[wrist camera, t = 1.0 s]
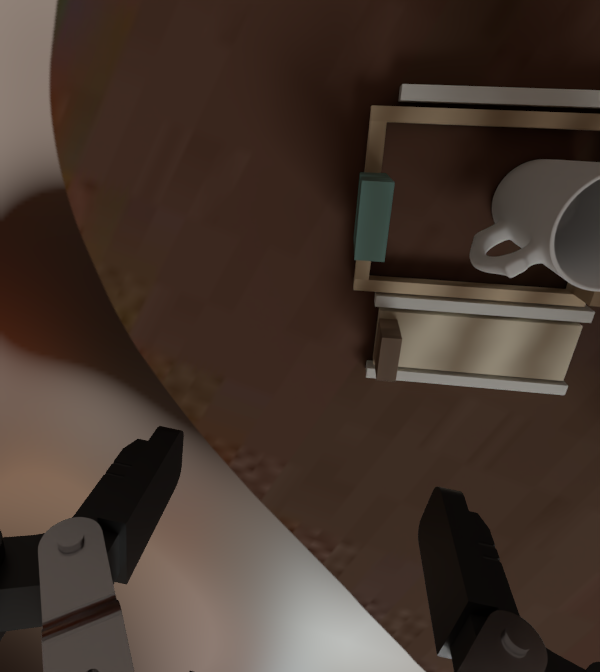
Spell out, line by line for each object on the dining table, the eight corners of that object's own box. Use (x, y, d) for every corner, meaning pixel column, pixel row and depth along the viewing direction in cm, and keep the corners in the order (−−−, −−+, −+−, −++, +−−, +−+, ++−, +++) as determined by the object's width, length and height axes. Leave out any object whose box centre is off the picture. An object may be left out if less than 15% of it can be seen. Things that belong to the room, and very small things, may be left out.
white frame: (639, 116, 30) (736, 110, 23) (576, 301, 36) (636, 344, 29) (365, 106, 32) (369, 96, 24) (348, 284, 38) (348, 321, 30)
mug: (565, 137, 31) (677, 137, 21) (589, 219, 34) (702, 258, 23) (435, 203, 34) (473, 234, 24) (464, 275, 37) (512, 333, 26)
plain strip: (575, 320, 37) (608, 347, 32) (557, 374, 39) (585, 406, 34) (379, 306, 38) (383, 329, 34) (372, 358, 41) (375, 387, 36)
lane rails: (659, 95, 30) (675, 92, 28) (557, 385, 40) (564, 395, 39) (400, 86, 31) (402, 83, 30) (365, 369, 41) (366, 377, 40)
